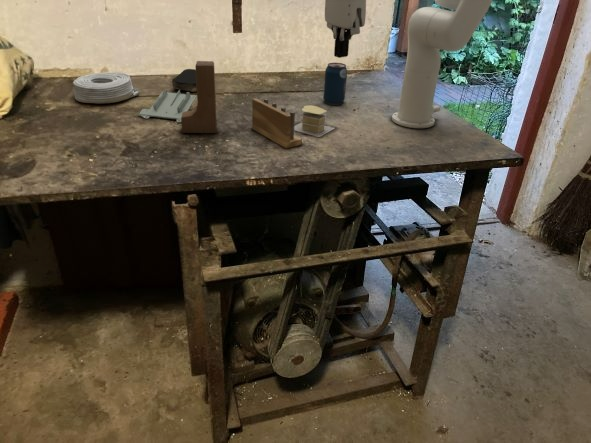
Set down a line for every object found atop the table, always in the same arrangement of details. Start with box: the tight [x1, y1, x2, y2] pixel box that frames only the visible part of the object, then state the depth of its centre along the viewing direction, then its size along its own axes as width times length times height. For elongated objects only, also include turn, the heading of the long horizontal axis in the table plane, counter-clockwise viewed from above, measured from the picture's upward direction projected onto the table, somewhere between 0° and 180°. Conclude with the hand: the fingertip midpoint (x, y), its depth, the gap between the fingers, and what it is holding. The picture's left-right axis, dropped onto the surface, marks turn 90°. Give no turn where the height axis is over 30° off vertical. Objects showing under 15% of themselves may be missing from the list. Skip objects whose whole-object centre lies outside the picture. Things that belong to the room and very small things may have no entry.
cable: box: [72, 71, 140, 104], centre depth 149 cm, size 18×18×6 cm
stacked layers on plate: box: [294, 104, 336, 138], centre depth 135 cm, size 10×9×6 cm
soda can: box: [322, 62, 348, 106], centre depth 154 cm, size 7×7×12 cm
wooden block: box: [180, 60, 218, 134], centre depth 126 cm, size 9×4×18 cm, turn 96°
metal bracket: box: [138, 89, 197, 123], centre depth 141 cm, size 14×6×15 cm
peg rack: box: [251, 97, 303, 149], centre depth 127 cm, size 5×16×8 cm, turn 37°
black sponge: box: [171, 68, 197, 93], centre depth 165 cm, size 16×8×4 cm, turn 172°
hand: (341, 56), depth 119 cm, fingers closed
